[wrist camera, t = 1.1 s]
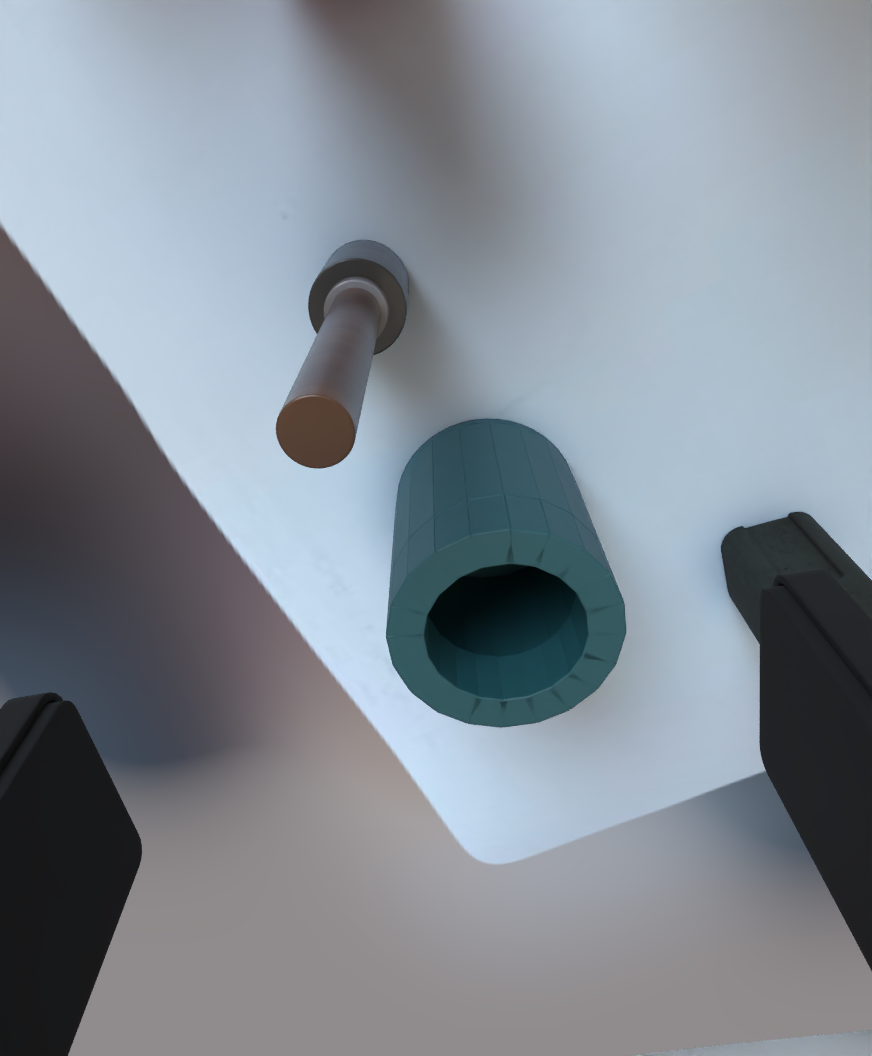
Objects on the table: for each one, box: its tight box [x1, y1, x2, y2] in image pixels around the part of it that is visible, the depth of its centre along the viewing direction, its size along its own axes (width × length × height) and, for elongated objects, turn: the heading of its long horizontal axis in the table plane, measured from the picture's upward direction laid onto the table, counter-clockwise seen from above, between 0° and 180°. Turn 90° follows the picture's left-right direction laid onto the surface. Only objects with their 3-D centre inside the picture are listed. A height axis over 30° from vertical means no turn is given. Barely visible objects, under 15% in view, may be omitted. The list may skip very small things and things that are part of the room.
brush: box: [276, 240, 409, 468], centre depth 29 cm, size 4×4×19 cm
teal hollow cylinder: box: [386, 419, 626, 727], centre depth 37 cm, size 9×9×12 cm
